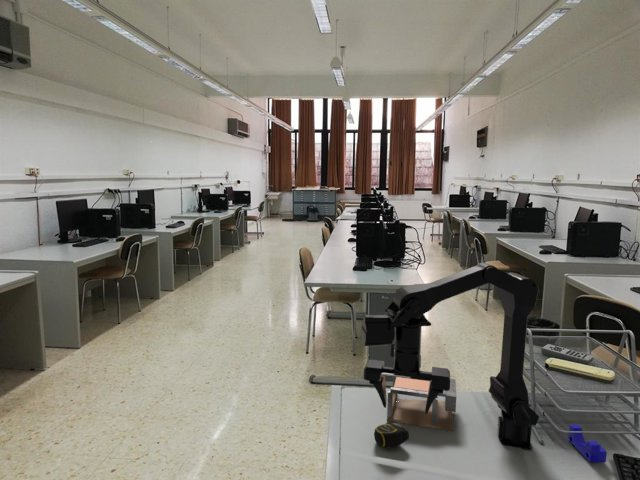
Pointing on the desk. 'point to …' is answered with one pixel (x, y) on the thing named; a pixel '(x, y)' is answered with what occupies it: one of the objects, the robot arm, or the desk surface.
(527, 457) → the desk surface
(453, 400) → the trapdoor
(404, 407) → the framed copper bin
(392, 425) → the tape measure
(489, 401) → the desk surface
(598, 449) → the cable holder
